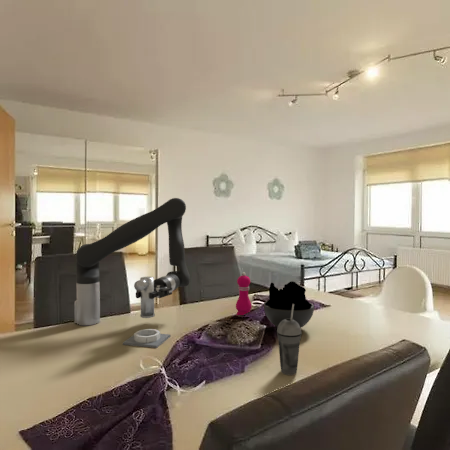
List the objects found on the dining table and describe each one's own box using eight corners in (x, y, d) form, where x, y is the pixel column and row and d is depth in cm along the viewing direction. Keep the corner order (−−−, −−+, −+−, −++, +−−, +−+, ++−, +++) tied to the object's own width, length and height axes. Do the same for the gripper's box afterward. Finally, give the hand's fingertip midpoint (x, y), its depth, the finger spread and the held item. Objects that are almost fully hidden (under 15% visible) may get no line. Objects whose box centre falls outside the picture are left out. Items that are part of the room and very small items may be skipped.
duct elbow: (132, 320, 128) (132, 280, 127) (144, 313, 136) (143, 276, 136) (146, 321, 126) (145, 281, 126) (157, 314, 135) (156, 276, 135)
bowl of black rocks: (318, 325, 152) (318, 280, 151) (307, 340, 134) (308, 289, 133) (272, 319, 160) (272, 276, 160) (256, 333, 142) (256, 284, 141)
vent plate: (122, 344, 129) (122, 336, 129) (138, 333, 141) (138, 326, 141) (156, 347, 126) (156, 339, 126) (170, 336, 138) (170, 329, 138)
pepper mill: (250, 318, 161) (250, 273, 161) (234, 317, 163) (234, 273, 162) (252, 314, 168) (252, 271, 168) (237, 313, 170) (237, 270, 169)
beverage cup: (273, 366, 111) (274, 301, 110) (297, 366, 111) (298, 300, 111) (279, 377, 103) (279, 307, 103) (304, 376, 104) (305, 306, 103)
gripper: (146, 276, 148) (125, 284, 132) (179, 277, 145) (162, 286, 128) (147, 294, 149) (125, 305, 132) (180, 296, 145) (162, 307, 129)
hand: (144, 295), depth 130 cm, fingers closed on duct elbow, 4 cm apart
